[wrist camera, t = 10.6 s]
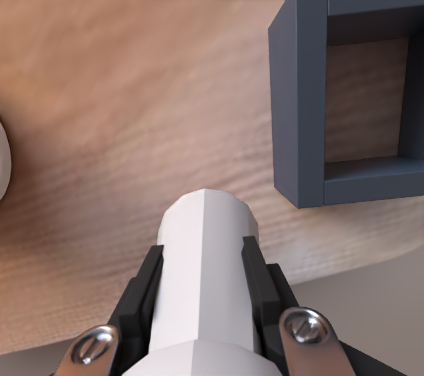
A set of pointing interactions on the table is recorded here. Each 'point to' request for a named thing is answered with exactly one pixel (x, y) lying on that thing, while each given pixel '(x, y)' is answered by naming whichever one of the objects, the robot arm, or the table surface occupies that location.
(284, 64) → the holder
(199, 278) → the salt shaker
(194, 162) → the table surface
